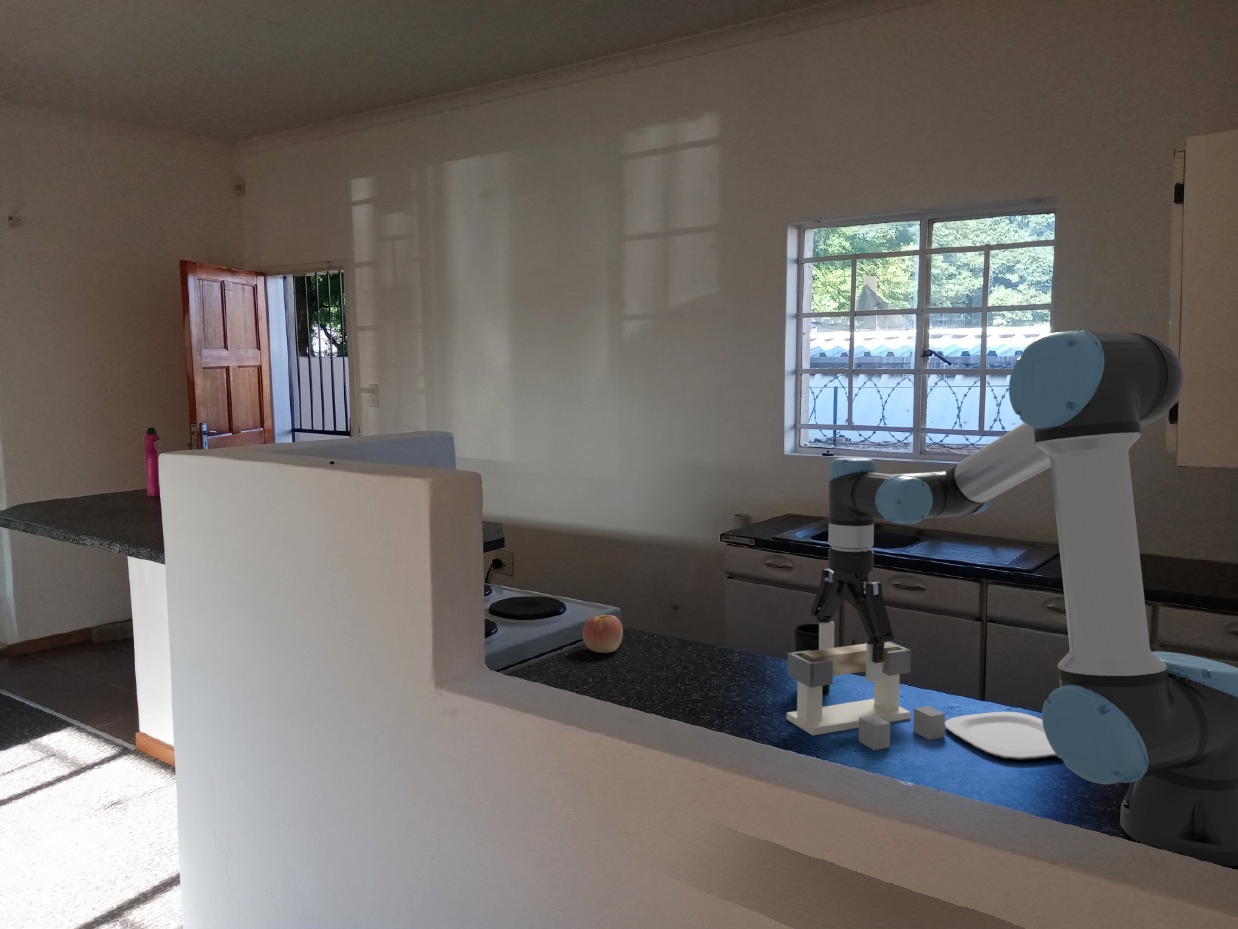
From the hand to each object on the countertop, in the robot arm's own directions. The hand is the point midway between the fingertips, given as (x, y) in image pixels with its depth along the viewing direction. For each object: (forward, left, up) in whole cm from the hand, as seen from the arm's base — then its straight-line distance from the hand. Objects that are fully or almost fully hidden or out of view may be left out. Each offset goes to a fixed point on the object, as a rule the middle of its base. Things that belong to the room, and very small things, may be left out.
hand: (849, 669), depth 156 cm
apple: (+55, +25, -9) cm, 61 cm away
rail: (0, 0, 0) cm, 0 cm away
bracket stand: (0, 0, -9) cm, 9 cm away
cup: (+15, -3, -9) cm, 18 cm away
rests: (-11, -2, -9) cm, 14 cm away
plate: (-18, -19, -10) cm, 28 cm away
